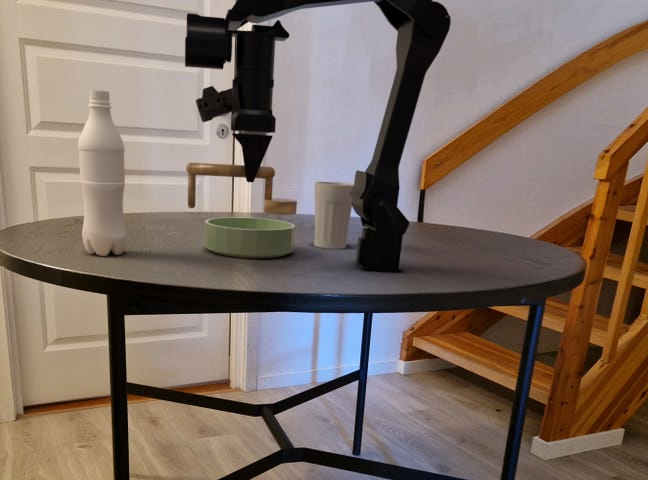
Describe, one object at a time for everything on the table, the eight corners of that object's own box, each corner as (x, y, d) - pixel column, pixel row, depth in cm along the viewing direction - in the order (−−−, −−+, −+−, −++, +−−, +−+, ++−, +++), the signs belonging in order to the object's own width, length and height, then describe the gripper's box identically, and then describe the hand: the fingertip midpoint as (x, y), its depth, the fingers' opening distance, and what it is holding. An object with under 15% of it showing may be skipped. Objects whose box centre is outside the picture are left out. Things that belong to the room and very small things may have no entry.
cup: (336, 251, 117) (342, 185, 113) (302, 245, 122) (306, 182, 118) (357, 246, 123) (363, 184, 119) (323, 241, 128) (328, 181, 124)
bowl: (290, 245, 120) (292, 219, 119) (295, 261, 105) (297, 232, 104) (208, 241, 120) (208, 215, 118) (201, 256, 105) (201, 227, 103)
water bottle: (73, 252, 102) (64, 88, 93) (105, 247, 108) (100, 92, 99) (105, 259, 98) (98, 89, 90) (136, 253, 104) (133, 93, 96)
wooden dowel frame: (184, 209, 95) (184, 162, 92) (187, 206, 99) (187, 161, 97) (297, 215, 96) (300, 169, 93) (294, 211, 100) (297, 167, 98)
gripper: (203, 74, 99) (201, 175, 104) (195, 61, 82) (193, 183, 87) (272, 78, 100) (267, 178, 105) (278, 66, 82) (272, 187, 88)
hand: (249, 181), depth 96 cm, fingers closed on wooden dowel frame
